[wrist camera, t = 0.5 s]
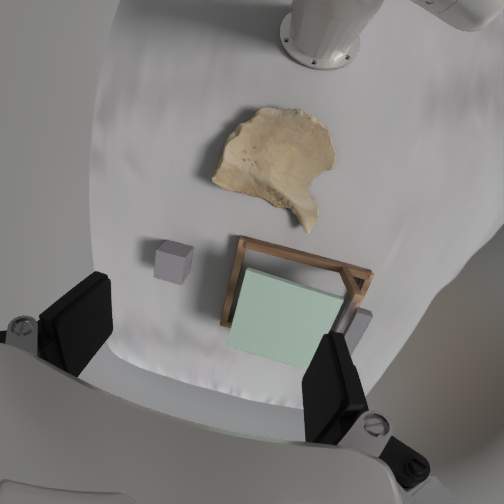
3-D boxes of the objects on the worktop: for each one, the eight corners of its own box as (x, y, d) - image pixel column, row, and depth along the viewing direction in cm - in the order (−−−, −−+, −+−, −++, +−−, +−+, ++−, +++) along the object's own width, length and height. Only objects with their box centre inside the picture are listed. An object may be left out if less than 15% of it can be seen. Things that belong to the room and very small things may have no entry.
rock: (356, 145, 38) (365, 147, 34) (308, 225, 44) (311, 235, 40) (255, 89, 35) (253, 84, 31) (211, 175, 42) (204, 181, 38)
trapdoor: (248, 266, 38) (245, 270, 37) (373, 305, 36) (375, 311, 34) (229, 340, 44) (226, 345, 42) (336, 372, 41) (336, 378, 40)
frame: (241, 235, 44) (230, 262, 34) (370, 269, 45) (392, 302, 34) (221, 319, 51) (209, 357, 41) (335, 344, 51) (343, 384, 41)
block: (167, 239, 46) (156, 249, 41) (194, 246, 46) (185, 257, 41) (164, 264, 48) (153, 277, 43) (189, 272, 48) (181, 285, 43)
